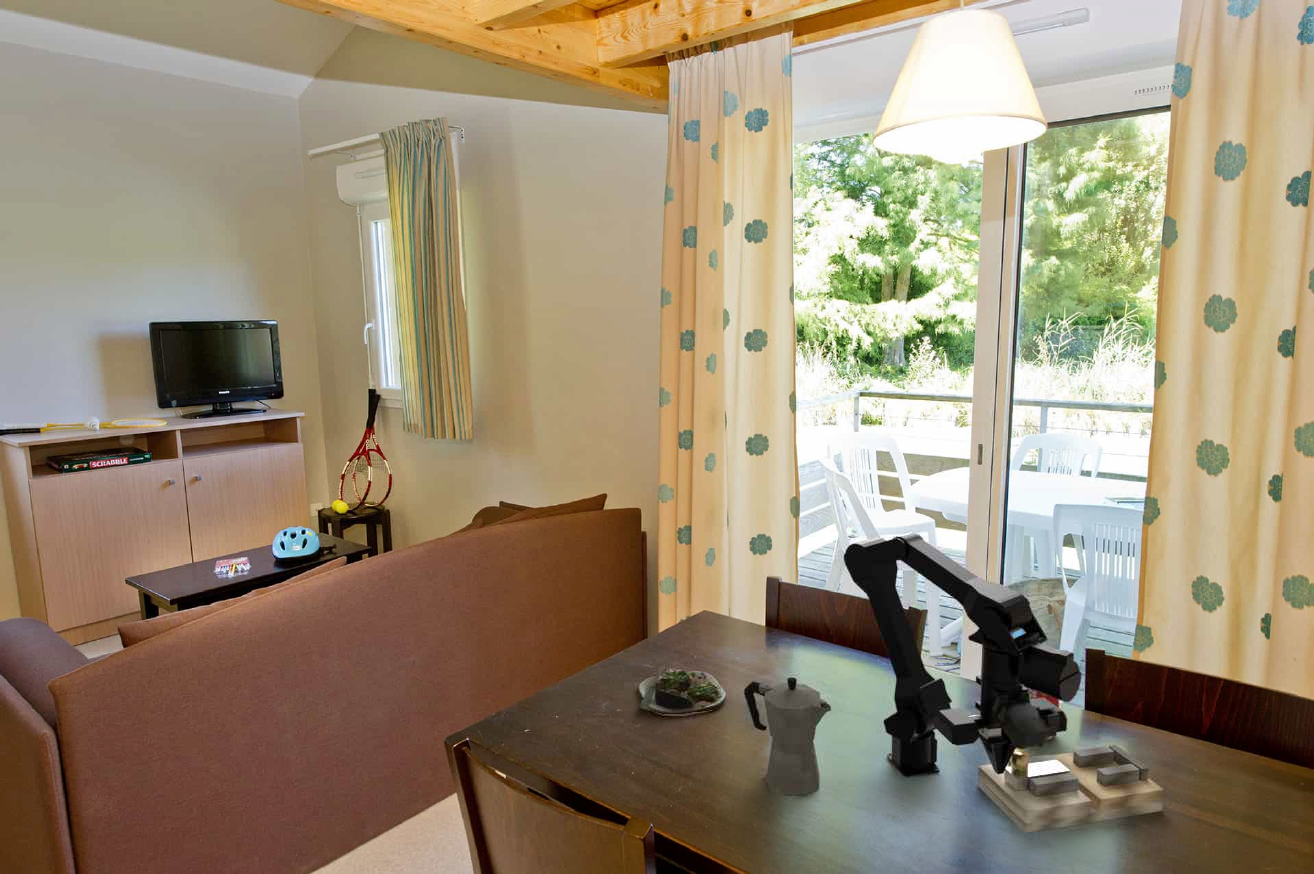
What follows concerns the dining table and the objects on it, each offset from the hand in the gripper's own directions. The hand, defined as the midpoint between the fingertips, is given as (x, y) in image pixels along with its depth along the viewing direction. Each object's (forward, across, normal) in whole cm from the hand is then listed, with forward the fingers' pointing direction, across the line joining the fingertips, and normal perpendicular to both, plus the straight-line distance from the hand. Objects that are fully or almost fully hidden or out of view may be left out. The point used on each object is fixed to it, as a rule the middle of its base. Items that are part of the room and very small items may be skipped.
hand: (998, 772), depth 120 cm
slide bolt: (+2, +7, 0) cm, 7 cm away
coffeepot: (+6, -29, +15) cm, 33 cm away
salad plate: (+7, -40, +47) cm, 62 cm away
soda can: (+6, +19, +18) cm, 27 cm away
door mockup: (+6, +12, 0) cm, 14 cm away
